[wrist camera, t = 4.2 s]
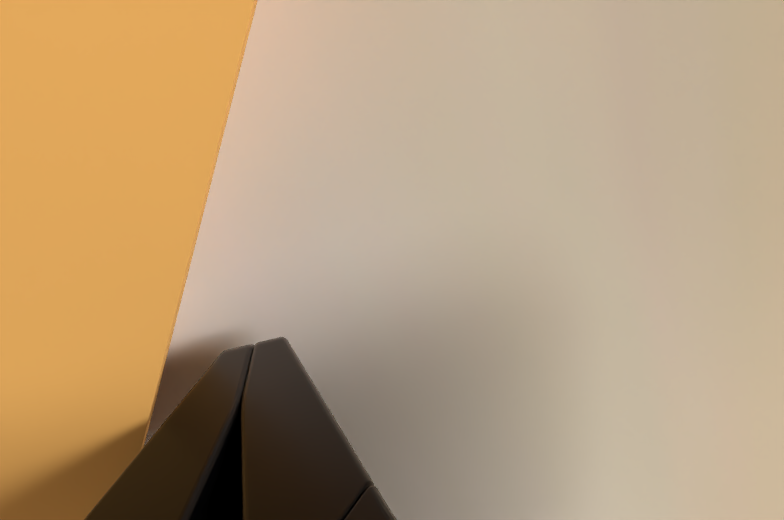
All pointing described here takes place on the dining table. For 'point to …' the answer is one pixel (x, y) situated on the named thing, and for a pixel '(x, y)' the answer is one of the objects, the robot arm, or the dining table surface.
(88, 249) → the long orange brick
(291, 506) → the robot arm
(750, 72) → the dining table surface
